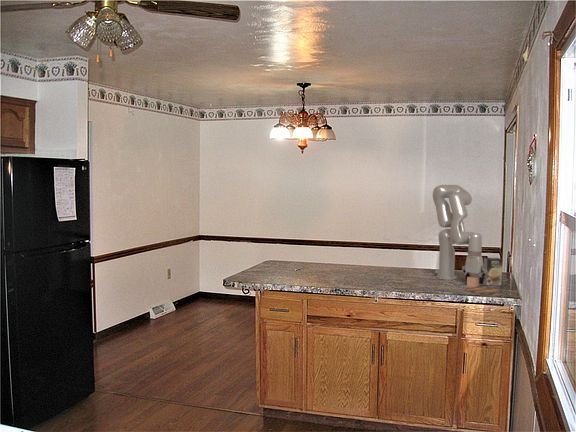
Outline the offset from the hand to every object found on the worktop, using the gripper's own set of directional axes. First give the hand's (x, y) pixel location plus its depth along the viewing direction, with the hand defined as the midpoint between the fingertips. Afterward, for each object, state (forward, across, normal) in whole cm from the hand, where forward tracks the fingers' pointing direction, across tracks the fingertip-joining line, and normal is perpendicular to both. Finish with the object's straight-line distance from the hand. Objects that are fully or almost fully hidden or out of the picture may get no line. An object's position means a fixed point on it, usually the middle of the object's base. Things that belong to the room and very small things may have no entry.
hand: (474, 282), depth 332 cm
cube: (+3, -1, 0) cm, 3 cm away
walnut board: (+3, +11, -8) cm, 14 cm away
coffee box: (+3, +2, +14) cm, 15 cm away
